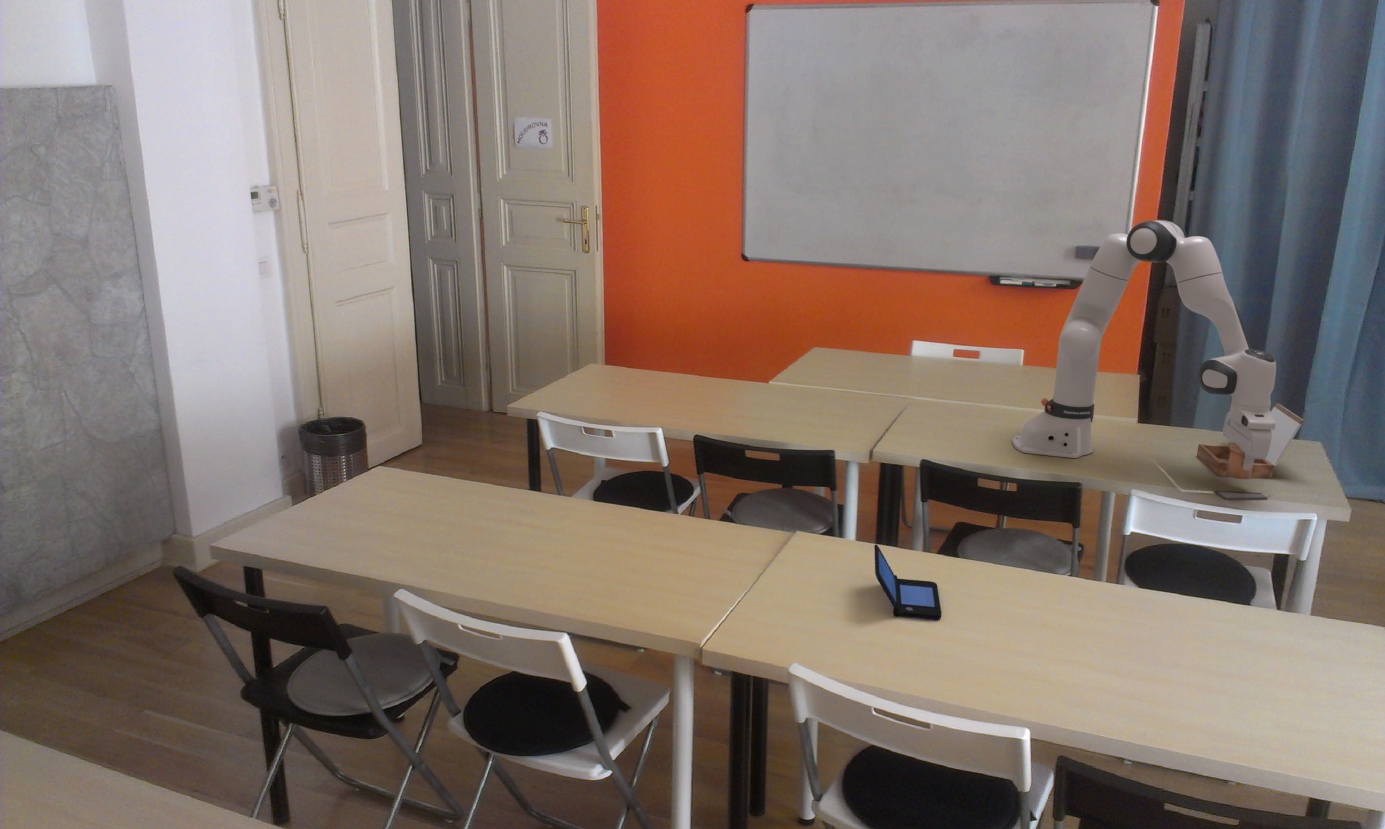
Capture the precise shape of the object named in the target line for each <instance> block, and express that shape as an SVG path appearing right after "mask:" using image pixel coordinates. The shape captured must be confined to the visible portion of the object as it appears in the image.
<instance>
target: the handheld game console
mask: <svg viewBox="0 0 1385 829" xmlns="http://www.w3.org/2000/svg"><path fill="white" fill-rule="evenodd" d="M873 547H874V573H875V576H876V579H877V581H878V583H879V585H880V587H881V588H882V591H883V592H884V594H885V596H886V597H887V598H888V601H889V602H890V604H891V606H892V608H893V611H892V613H893V616H894V617H895V618H897V617H900V618H902V617H903V618H908V619H909V618H911V619H919V620H920V619H921V620H931V621H932V620H933V621H938V620H940V619H941V618H942V608H941V601H940V596H939V595H940V594H939V588H938V583H936V582H935V581H930V580H918V579H905V578H898V576H897V574H894V571H893V570H892V567H891V566H890V565H889V563H888V561H887V559H886V558H885V555H884V554H883V552H882V550H881V549H880V547H879V545H878V544H874V546H873Z"/></svg>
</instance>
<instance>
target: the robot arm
mask: <svg viewBox="0 0 1385 829" xmlns="http://www.w3.org/2000/svg"><path fill="white" fill-rule="evenodd" d="M1141 262H1145V263H1167V264H1169V265H1170V266H1171V268H1172V270H1173V273H1174V274H1173V275H1174V278H1175V282H1176V285H1177V286H1176V287H1177V291H1178V295H1179V297H1180V299H1181V300H1180V301H1181V302H1182V305H1184V307H1186V309H1188V310H1189V311H1191V312H1194V313H1196V314H1199V315H1201V316H1204V318H1205V317H1206V318H1207V319H1208V320H1210V321H1211V322H1212V323H1213V325H1214V327H1215V328H1216V330H1217V334H1218V337H1219V340H1220V343H1221V346H1222V349H1223V352H1224V355H1223V356H1218V357H1213V358H1211V359H1207V360H1206V361H1203V363H1201V365H1200V366H1199V367H1198V371H1197V381H1198V384H1199V386H1200V387H1201V389H1202V390H1203V391H1205V392H1206V393H1208V394H1212V395H1221V396H1222V395H1227V396H1228V395H1229V396H1231V404H1230V408H1229V411H1228V412H1227V413H1226V416H1225V420H1224V423H1223V424H1224V425H1223V427H1222V436H1223V437H1224V438H1226V439H1227V441H1230V444H1231V443H1233V444H1235V445H1236V446H1237V447H1238V448H1239V449H1241V450H1242V451H1243V452H1244V453H1245V459H1244V461H1242V465H1241V467H1242V468H1243V469H1244V470H1250V469H1251V464H1252V462H1253V461H1254V459H1265V458H1266V457H1267V455H1268V452H1269V448H1270V444H1271V438H1272V432H1271V430H1274V429H1275V425H1276V423H1275V421H1274V419H1273V417H1272V415H1271V411H1272V410H1270V409H1271V405H1272V402H1271V400H1272V399H1271V394H1272V392H1273V391H1274V390H1275V389H1274V388H1275V383H1276V382H1275V381H1276V375H1277V363H1276V362H1277V361H1276V359H1275V357H1274V356H1273V355H1272V354H1270V353H1268V352H1267V351H1263V350H1260V349H1254V348H1252V346H1251V343H1250V341H1249V339H1248V336H1247V332H1246V329H1245V327H1244V324H1243V323H1244V322H1243V321H1242V318H1241V315H1240V312H1239V310H1238V307H1237V305H1236V302H1234V299H1233V298H1232V296H1231V294H1230V292H1229V289H1228V287H1227V284H1226V281H1225V278H1224V277H1225V276H1224V273H1223V269H1222V265H1221V262H1220V259H1219V256H1218V254H1217V251H1216V248H1215V246H1214V245H1213V243H1212V241H1211V240H1210V239H1209V238H1208V237H1205V236H1201V235H1200V236H1199V235H1198V236H1197V235H1195V236H1189V237H1188V236H1187V233H1186V230H1185V229H1184V228H1183V227H1182V226H1181V225H1179V223H1176V222H1174V221H1171V220H1170V221H1168V220H1164V219H1155V220H1146V221H1143V222H1139V223H1138V224H1136V225H1134V226H1133V227H1132V229H1131V230H1129V233H1128V234H1127V233H1122V232H1121V233H1119V232H1118V233H1117V232H1115V233H1112V234H1110V235H1107V237H1106V238H1105V240H1103V242H1102V244H1101V245H1100V247H1099V248H1098V250H1097V251H1096V253H1095V255H1094V257H1093V260H1092V261H1091V262H1090V266H1089V268H1088V270H1087V272H1086V275H1085V277H1084V279H1083V282H1082V284H1081V286H1080V288H1079V291H1078V292H1077V295H1076V297H1075V299H1074V301H1073V304H1072V305H1071V309H1070V311H1069V313H1068V314H1067V318H1066V319H1065V321H1064V324H1063V326H1062V329H1061V332H1060V335H1059V338H1058V349H1057V358H1056V367H1055V368H1056V372H1055V379H1054V388H1053V394H1052V395H1053V396H1052V399H1050V400H1048V398H1046V397H1045V398H1044V397H1043V398H1042V399H1041V401H1040V404H1041V405H1042V406H1043V407H1044V411H1042V412H1041V413H1039V414H1038V415H1036V416H1034V417H1032V418H1030V419H1028V420H1027V421H1026V422H1025V423H1023V427H1022V429H1021V431H1020V432H1021V433H1020V435H1015V436H1014V437H1012V441H1011V444H1012V445H1013V447H1014V448H1015V449H1016V450H1017V451H1019V452H1021V453H1025V454H1033V455H1043V456H1050V457H1060V458H1070V459H1077V458H1081V457H1082V456H1086V455H1090V454H1091V453H1093V451H1094V449H1093V448H1094V447H1093V443H1092V423H1093V420H1094V415H1095V403H1094V400H1095V392H1096V385H1097V378H1098V371H1099V370H1098V368H1099V360H1100V352H1101V345H1102V340H1103V337H1104V334H1105V332H1106V330H1107V328H1108V325H1109V324H1110V322H1111V320H1112V317H1113V315H1114V314H1115V312H1116V310H1117V308H1118V306H1119V303H1120V302H1121V299H1122V297H1123V295H1124V293H1125V291H1126V289H1127V287H1128V284H1129V282H1130V280H1131V277H1132V275H1133V273H1134V270H1135V269H1136V267H1137V265H1138V264H1140V263H1141Z"/></svg>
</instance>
